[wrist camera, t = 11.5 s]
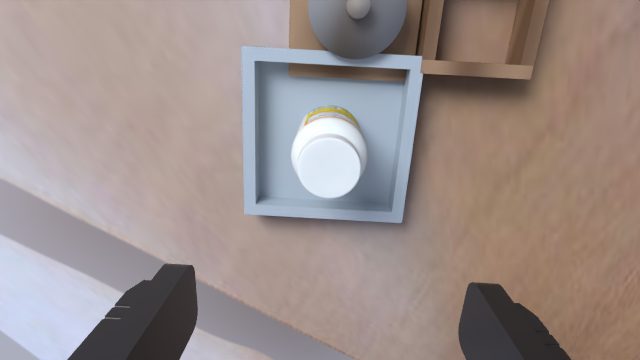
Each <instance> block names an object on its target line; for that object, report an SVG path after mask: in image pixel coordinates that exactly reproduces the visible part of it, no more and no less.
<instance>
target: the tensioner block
mask: <svg viewBox="0 0 640 360" xmlns="http://www.w3.org/2000/svg"><path fill="white" fill-rule="evenodd" d="M443 4H444V0H290V27H289V49H303V50H321V51H330V52H332V53H333V54H335V55H337V56H340V57H343V58H347V59H364V58H368V57H372V56H374V55H376V54H392V55H410V56H422V62H421V69H420V73H422V74H440V75H458V76H476V77H494V78H512V79H531V75H532V71H533V67H534V63H535V58H536V54H537V50H538V46H539V42H540V38H541V33H542V29H543V25H544V21H545V17H546V13H547V8H548V4H549V0H519V2H518V6H517V11H516V16H515V20H514V25H513V30H512V34H511V39H510V44H509V48H508V53H507V58H506V62H505V64H491V63H473V62H455V61H437V60H435V57H436V50H437V44H438V37H439V31H440V24H441V17H442V11H443ZM421 70H422V71H421ZM423 70H424V71H423ZM406 73H407V69H394V68H376V67H358V66H340V65H323V64H305V63H289V72H288V75H294V76H312V77H330V78H347V79H365V80H383V81H401V82H405V81H406Z"/></svg>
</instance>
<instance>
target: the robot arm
mask: <svg viewBox="0 0 640 360" xmlns="http://www.w3.org/2000/svg"><path fill="white" fill-rule="evenodd" d="M197 311H198V307H197V294H196V282H195V270H194V267H193V266H192V265H181V264H164V265H163V266H162V268H161V269H160V270H159V271H158V272H157V274H156V275H155V276H154V278H153V279H152V280H151V281H149V280H148V281H147V280H143V281H142V282H140V283H139V284H137V285H136V286H134V287H132V288H131V289H129V290H128V291H126V292H125V294H124V295H123V296H122V297H121V298H120V299H119V301H118V302H117V303H116V304H115V307H114V308H112V309H111V310H110V311H109V312H108V313H107V314H106V316H105V319H102V320H101V321H100V323H99V324H98V325H97V326H96V327H95V328H94V329H93V331H92V332H91V333H90V334H89V335H88V336H87V338H86V339H85V340H84V341H83V342H82V343H81V345H80V346H79V347H78V348H77V349H76V350H75V351H74V353H73V354H72V355H71V356H70V357H69V358H68V360H179V359H180V357H181V355H182V353H183V351H184V349H185V347H186V345H187V343H188V341H189V339H190V337H191V335H192V333H193V331H194V328H195V325H196V320H197ZM459 341H460V346H461V349H462V351H463V353H464V355H465V358H466V360H571V359H570V357H569V356H568V355H567V354H566V352H565V351H564V350H563V349H562V348H560V347H559V344H558V342H557V341H556V340H555V339H554V337H553V336H552V335H550V334H549V331H548V330H547V328H546V327H545V326H544V325H543V323H542V322H541V321H540V320H539V318H538V317H537V316H536V315H534V314H533V313H532V312H530V311H529V310H528V309H526V308H525V307H524V306H522V305H521V304H520V303H514V302H513V301H512V300H511V298H510V297H509V296H508V294H507V293H506V292H505V290H504V289H503V288H502V286H501V285H499V284H490V283H473V282H472V283H470V284H469V285H468V288H467V291H466V296H465V300H464V305H463V309H462V314H461V318H460V323H459Z"/></svg>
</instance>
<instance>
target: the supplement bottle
mask: <svg viewBox="0 0 640 360" xmlns="http://www.w3.org/2000/svg"><path fill="white" fill-rule="evenodd" d="M291 160H292V165H293V168H294V171H295V172H296V174H297V176H298V177H299V179H300V181H301V183H302V185H303V186H304V187H305V188H306V189H307V190H308V191H309V192H310V193H312V194H314V195H315V196H318V197H322V198H327V199H329V198H337V197H341V196H343V195H345V194H347V193H348V192H350V191H351V190H352V189H353V188H354V187H355V185H356V184H357V182H358V180H359V178H360V177H361V175H362V174H363V172H364V170H365V167H366V163H367V146H366V143H365V140H364V137H363V135H362V132H361V130H360V127H359V125H358V122H357V121H356V119H355V117H354V116H353V115H352V114H351V113H350V112H349V111H347V110H346V109H344V108H342V107H339V106H336V105H323V106H319V107H317V108H315V109H313V110H311V111H310V112H309V113H308V114H307V115H306V116H305V117H304V119H303V120H302V122H301V124H300V127H299V130H298V132H297V135H296V137H295V139H294V142H293V145H292V150H291Z"/></svg>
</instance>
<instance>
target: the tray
mask: <svg viewBox="0 0 640 360" xmlns="http://www.w3.org/2000/svg"><path fill="white" fill-rule="evenodd" d="M421 62H422V56H410V55H392V54H376V55H374V56H372V57H368V58H364V59H347V58H343V57H340V56H337V55H335V54H333V53H332V52H330V51H321V50H303V49H285V48H267V47H249V46H241V63H242V115H243V166H244V214H250V215H268V216H285V217H303V218H320V219H338V220H355V221H373V222H391V223H402V218H403V211H404V204H405V197H406V190H407V183H408V176H409V169H410V162H411V155H412V148H413V141H414V134H415V127H416V120H417V113H418V106H419V99H420V92H421V85H422V78H423V74H422V73H420V69H421ZM289 63H305V64H323V65H340V66H358V67H376V68H394V69H407V73H406V81H405V82H401V81H383V80H365V79H347V78H330V77H312V76H294V75H288V72H289ZM421 71H422V70H421ZM423 71H424V70H423ZM323 105H336V106H339V107H342V108H344V109H346V110H347V111H349V112H350V113H351V114H352V115H353V116H354V117H355V119H356V121H357V122H358V125H359V127H360V130H361V132H362V135H363V137H364V140H365V143H366V146H367V163H366V167H365V170H364V172H363V174H362V175H361V177H360V178H359V180H358V182H357V184H356V185H355V187H354V188H353V189H352V190H351V191H350V192H348V193H347V194H345V195H343V196H341V197H337V198H329V199H327V198H322V197H318V196H315V195H314V194H312V193H310V192H309V191H308V190H307V189H306V188H305V187H304V186H303V185H302V183H301V181H300V179H299V177H298V176H297V174H296V172H295V171H294V168H293V165H292V160H291V150H292V145H293V142H294V139H295V137H296V135H297V132H298V130H299V127H300V124H301V122H302V120H303V119H304V117H305V116H306V115H307V114H308V113H309V112H310V111H311V110H313V109H315V108H317V107H319V106H323Z"/></svg>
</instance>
